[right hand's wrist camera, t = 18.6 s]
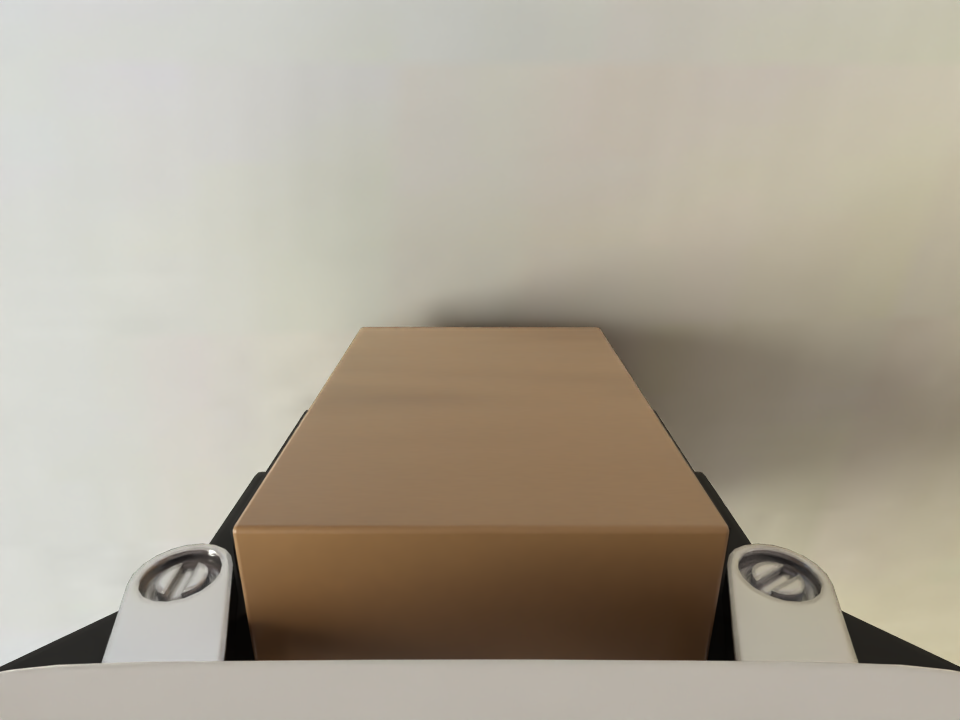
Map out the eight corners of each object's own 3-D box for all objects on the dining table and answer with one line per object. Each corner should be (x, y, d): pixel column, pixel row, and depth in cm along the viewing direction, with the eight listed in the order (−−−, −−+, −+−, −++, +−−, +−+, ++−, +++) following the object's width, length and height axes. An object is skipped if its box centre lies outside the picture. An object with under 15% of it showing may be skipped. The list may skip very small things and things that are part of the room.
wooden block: (585, 529, 15) (675, 858, 8) (374, 529, 15) (286, 859, 8) (600, 326, 13) (734, 527, 6) (360, 326, 13) (228, 528, 6)
